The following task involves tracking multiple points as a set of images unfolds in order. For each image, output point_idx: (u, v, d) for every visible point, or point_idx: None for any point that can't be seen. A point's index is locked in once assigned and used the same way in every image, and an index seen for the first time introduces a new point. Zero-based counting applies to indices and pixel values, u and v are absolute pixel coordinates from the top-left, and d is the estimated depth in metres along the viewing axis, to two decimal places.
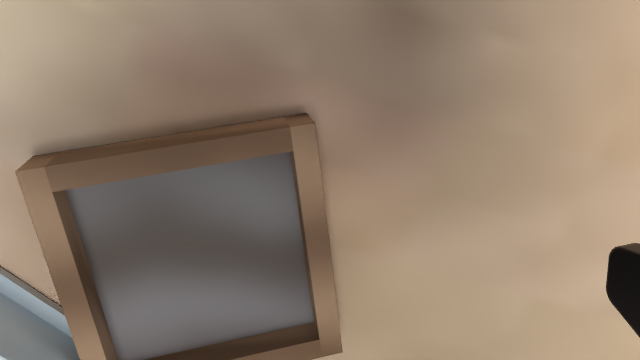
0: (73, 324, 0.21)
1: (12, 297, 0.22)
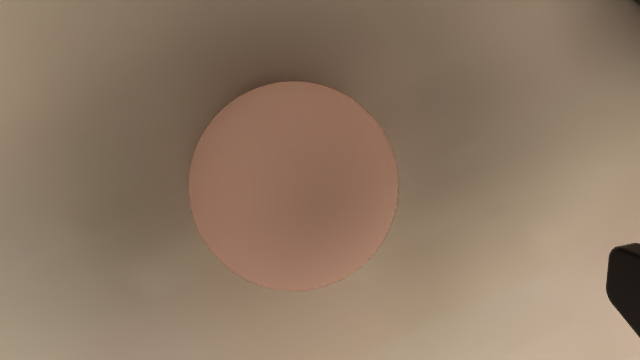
0: None
1: None
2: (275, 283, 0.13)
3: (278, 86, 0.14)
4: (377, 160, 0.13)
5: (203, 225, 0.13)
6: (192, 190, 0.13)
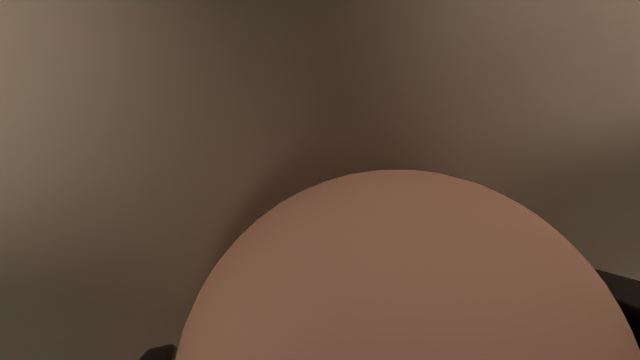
0: None
1: None
2: None
3: (382, 198, 0.06)
4: None
5: None
6: None
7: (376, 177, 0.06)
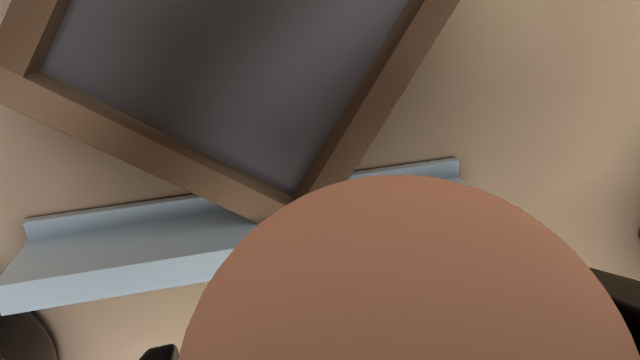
0: (194, 187, 0.17)
1: (138, 221, 0.18)
2: None
3: (384, 204, 0.06)
4: None
5: None
6: None
7: (377, 183, 0.06)
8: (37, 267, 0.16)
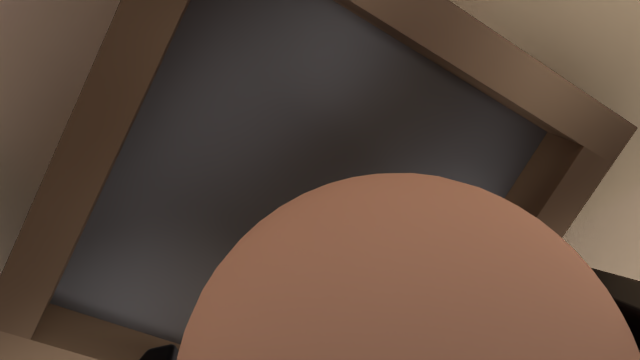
0: None
1: None
2: None
3: (383, 202, 0.06)
4: None
5: None
6: None
7: (377, 181, 0.06)
8: None
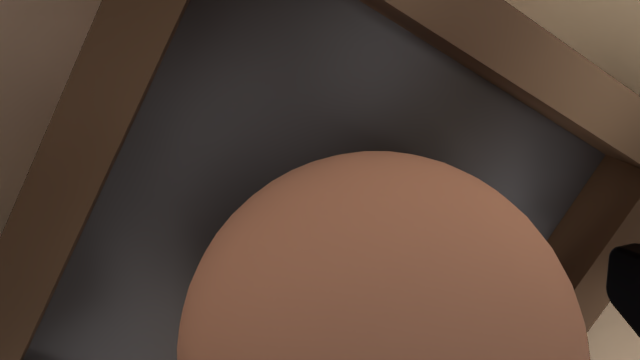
0: None
1: None
2: None
3: (358, 172, 0.07)
4: (576, 336, 0.06)
5: None
6: None
7: (355, 156, 0.07)
8: None
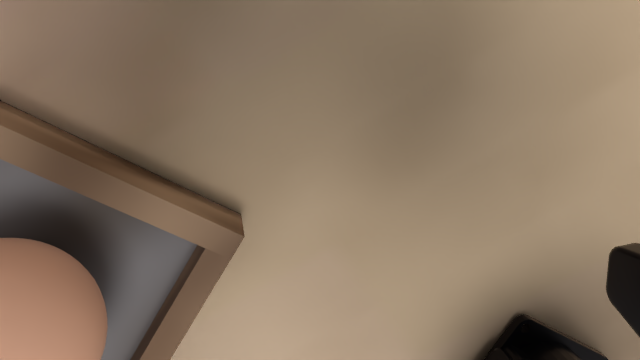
0: None
1: None
2: None
3: None
4: (45, 333, 0.14)
5: None
6: None
7: None
8: None
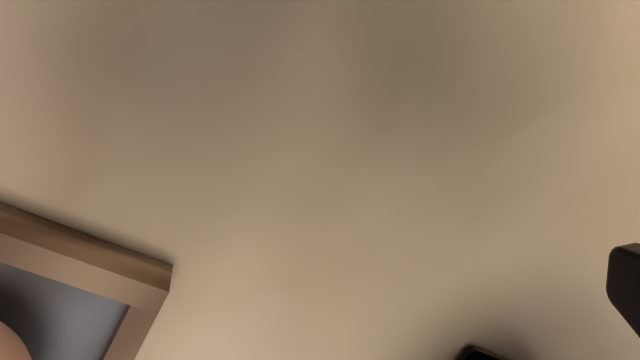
0: None
1: None
2: None
3: None
4: None
5: None
6: None
7: None
8: None
